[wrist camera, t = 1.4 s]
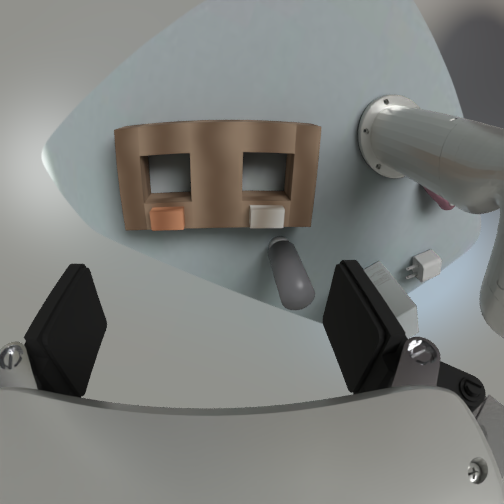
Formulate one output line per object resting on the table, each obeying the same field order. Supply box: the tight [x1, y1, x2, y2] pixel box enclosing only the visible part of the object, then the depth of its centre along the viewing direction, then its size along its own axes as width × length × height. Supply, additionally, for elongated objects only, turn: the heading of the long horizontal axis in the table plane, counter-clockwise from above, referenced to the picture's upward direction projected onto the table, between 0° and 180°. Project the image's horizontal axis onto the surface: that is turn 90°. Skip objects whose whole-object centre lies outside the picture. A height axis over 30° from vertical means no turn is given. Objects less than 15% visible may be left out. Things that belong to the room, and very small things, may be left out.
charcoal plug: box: [268, 236, 315, 310], centre depth 37 cm, size 4×4×12 cm
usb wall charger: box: [406, 249, 441, 282], centre depth 45 cm, size 4×7×4 cm, turn 107°
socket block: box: [114, 120, 321, 231], centre depth 33 cm, size 24×13×6 cm, turn 88°
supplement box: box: [364, 261, 419, 338], centre depth 43 cm, size 7×7×13 cm
